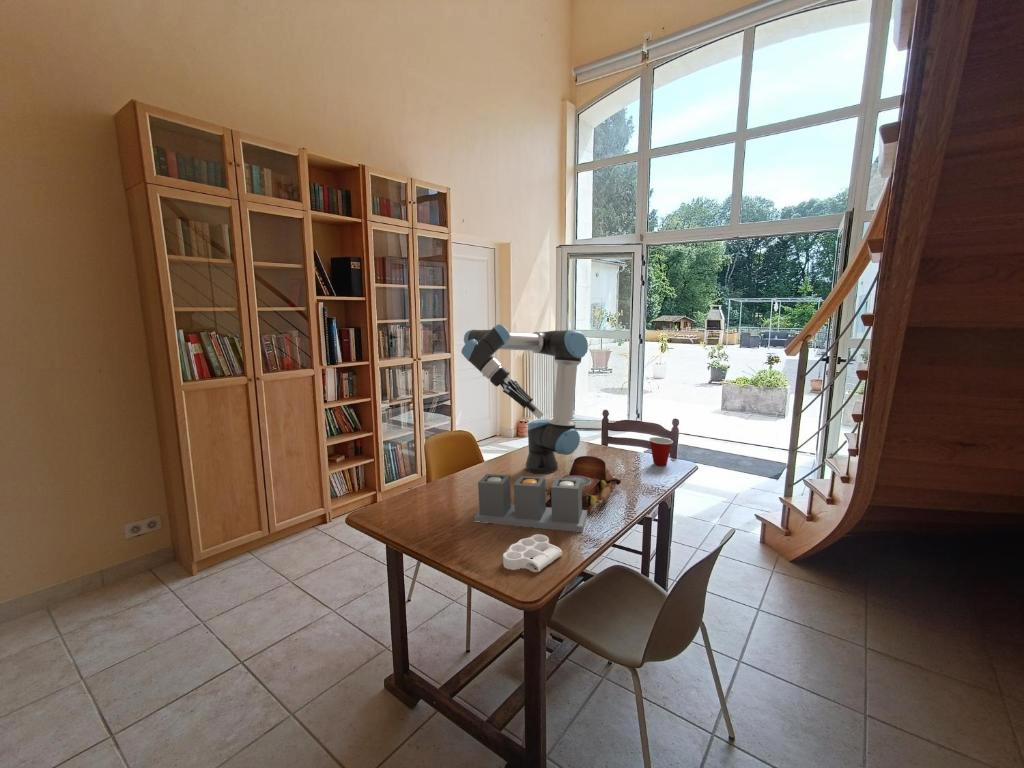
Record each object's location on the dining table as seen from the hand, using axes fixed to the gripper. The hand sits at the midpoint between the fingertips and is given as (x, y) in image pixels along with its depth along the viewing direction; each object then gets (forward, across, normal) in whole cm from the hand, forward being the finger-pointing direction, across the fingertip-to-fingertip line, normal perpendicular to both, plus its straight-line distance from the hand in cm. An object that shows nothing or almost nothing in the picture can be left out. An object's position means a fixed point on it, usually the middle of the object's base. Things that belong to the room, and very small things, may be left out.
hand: (541, 416), depth 170 cm
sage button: (+6, +15, -28) cm, 32 cm away
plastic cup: (+57, -54, +6) cm, 78 cm away
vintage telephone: (+34, -11, -16) cm, 39 cm away
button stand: (+22, +15, -26) cm, 37 cm away
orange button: (+15, +15, -19) cm, 28 cm away
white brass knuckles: (+26, +40, -22) cm, 53 cm away
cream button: (+24, +15, -9) cm, 30 cm away
